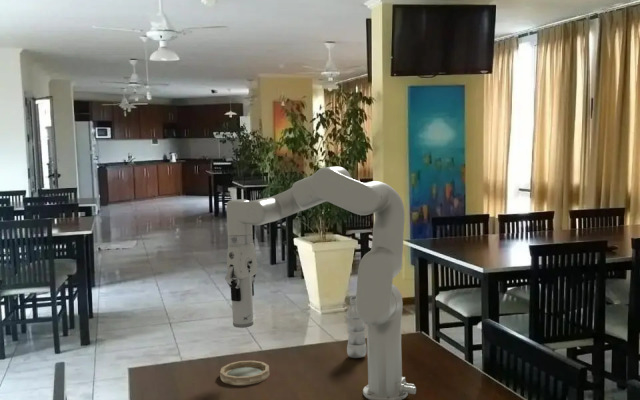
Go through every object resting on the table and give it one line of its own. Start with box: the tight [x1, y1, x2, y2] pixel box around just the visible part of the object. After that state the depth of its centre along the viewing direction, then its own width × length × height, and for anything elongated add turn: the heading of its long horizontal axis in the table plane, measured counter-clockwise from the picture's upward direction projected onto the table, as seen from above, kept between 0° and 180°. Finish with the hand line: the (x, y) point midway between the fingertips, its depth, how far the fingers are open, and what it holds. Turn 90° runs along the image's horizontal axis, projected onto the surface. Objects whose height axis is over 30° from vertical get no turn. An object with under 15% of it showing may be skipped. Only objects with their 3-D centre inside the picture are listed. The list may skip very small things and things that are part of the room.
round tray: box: [219, 360, 270, 386], centre depth 192 cm, size 15×15×2 cm
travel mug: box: [231, 261, 254, 329], centre depth 189 cm, size 6×7×20 cm
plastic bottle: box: [346, 296, 368, 359], centre depth 205 cm, size 6×7×20 cm
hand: (242, 297), depth 190 cm, fingers closed on travel mug, 6 cm apart
